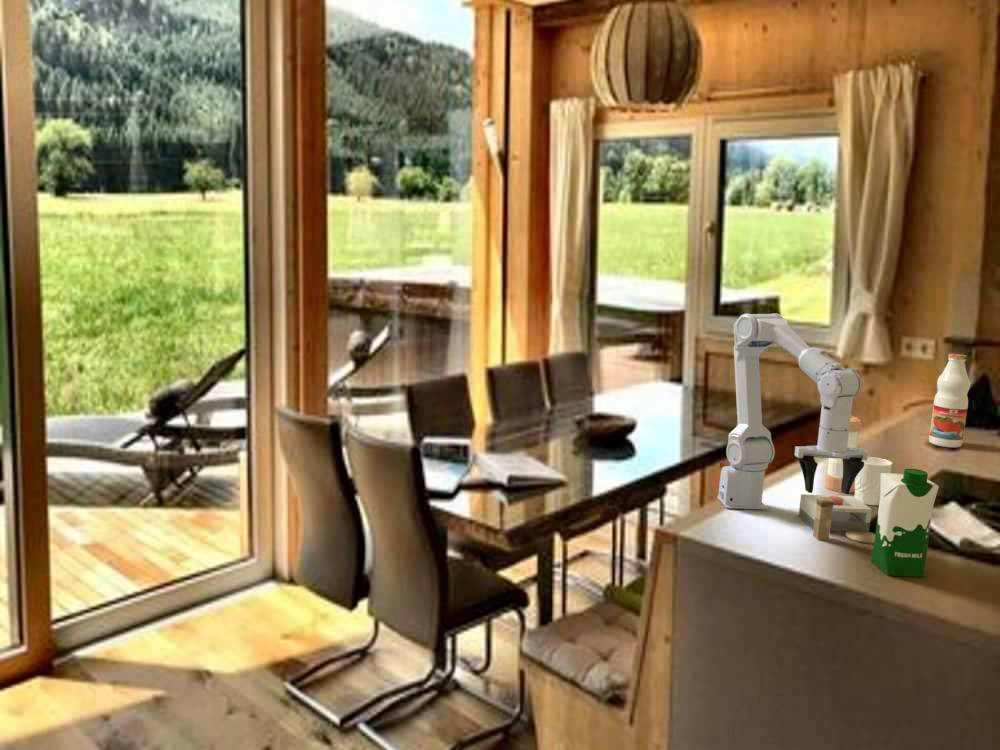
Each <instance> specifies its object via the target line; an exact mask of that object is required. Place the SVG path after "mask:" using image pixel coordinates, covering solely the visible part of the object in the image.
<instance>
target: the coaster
mask: <svg viewBox="0 0 1000 750" xmlns="http://www.w3.org/2000/svg"><path fill="white" fill-rule="evenodd" d="M875 534H876V533H874V532H871V531H869V532H866V531H860V530H851V531H845V537H846V538H847V539H848V540H851V541H854V542H857V543H861V544H868V545H874V542H875Z"/></svg>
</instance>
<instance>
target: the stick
mask: <svg viewBox="0 0 1000 750" xmlns="http://www.w3.org/2000/svg"><path fill="white" fill-rule="evenodd" d="M832 509H833V500H832V499H830V498H829V497H817V506H816V514H815V523H814V529H813V530H812V531H813V533H812V536H813V538H815V539H816V540H817V541H830V532H831V530H830V526H831V517H832Z"/></svg>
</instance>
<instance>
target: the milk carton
mask: <svg viewBox="0 0 1000 750" xmlns="http://www.w3.org/2000/svg"><path fill="white" fill-rule="evenodd" d="M903 471H904V472H903V473H893V472H891V473H881V488H880V503H879V505H878V512H877V519H876V520H877V521H876V526H875V533H874V534H875V542H874V544H873V549H872V556H871V561H870V562H872V564H874V565H875V566H876V567H877V568H878V569H880V570H881V571H882V572H883V573H884V574H885V575H886V576H887V577H888V576H890V577H914V578H915V577H916V578H917V577H918V578H924V577H925V569H926V561H927V557H928V556H927V555H928V546H929V540H930V532H931V526H932V525H931V524H932V517H933V512H934V511H933V510H934V504H935V500H936V499H937V498H936V497H937V495H938V491H939V487H940V486H939V485H938V484H936V483H934V482H933V481H932V480H930V479H929V478H928V475H929V474H928V471H925V470H922V469H916V468H905V469H904V470H903Z"/></svg>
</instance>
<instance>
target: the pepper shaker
mask: <svg viewBox="0 0 1000 750" xmlns="http://www.w3.org/2000/svg"><path fill="white" fill-rule="evenodd" d="M863 426H864V425H863V422H862V420H861V419H860V418H859V417H856V416H855V415H853V414H852V413H851V418H850V427H849V435H848V444H847V447H848V448H857V449H858V439H859V432H860V431H861V430H863ZM827 467H828V468H827V471H826V472H825V479H824V488H826V489H828V490H831V491H835V492H839V493H843V492H842V491H841V485H842V478H843V459H841V458H828V466H827ZM849 493H855V480H854V482H853V484H852V486H851V488H850V491H849Z"/></svg>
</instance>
